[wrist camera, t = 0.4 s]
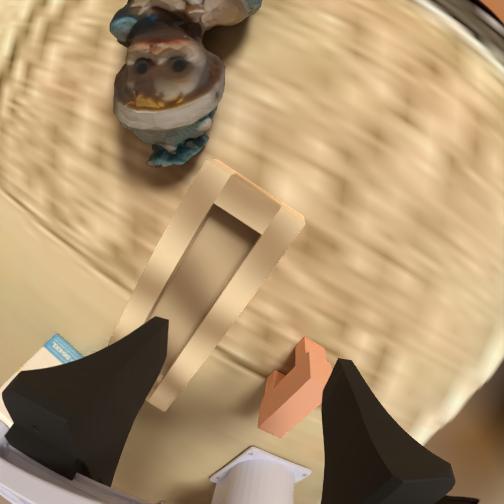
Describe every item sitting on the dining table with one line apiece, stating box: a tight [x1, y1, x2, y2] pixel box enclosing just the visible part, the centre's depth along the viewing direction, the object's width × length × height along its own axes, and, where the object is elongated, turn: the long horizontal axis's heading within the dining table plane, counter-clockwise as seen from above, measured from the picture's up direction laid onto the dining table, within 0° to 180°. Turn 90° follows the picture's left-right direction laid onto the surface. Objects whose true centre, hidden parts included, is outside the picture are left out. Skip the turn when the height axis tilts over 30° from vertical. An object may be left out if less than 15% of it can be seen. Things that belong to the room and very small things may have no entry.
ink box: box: [0, 334, 84, 428], centre depth 23 cm, size 9×8×13 cm
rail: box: [108, 159, 305, 412], centre depth 23 cm, size 20×7×2 cm, turn 147°
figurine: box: [110, 0, 262, 168], centre depth 15 cm, size 9×8×15 cm
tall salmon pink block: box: [257, 337, 332, 438], centre depth 22 cm, size 6×2×6 cm, turn 147°
